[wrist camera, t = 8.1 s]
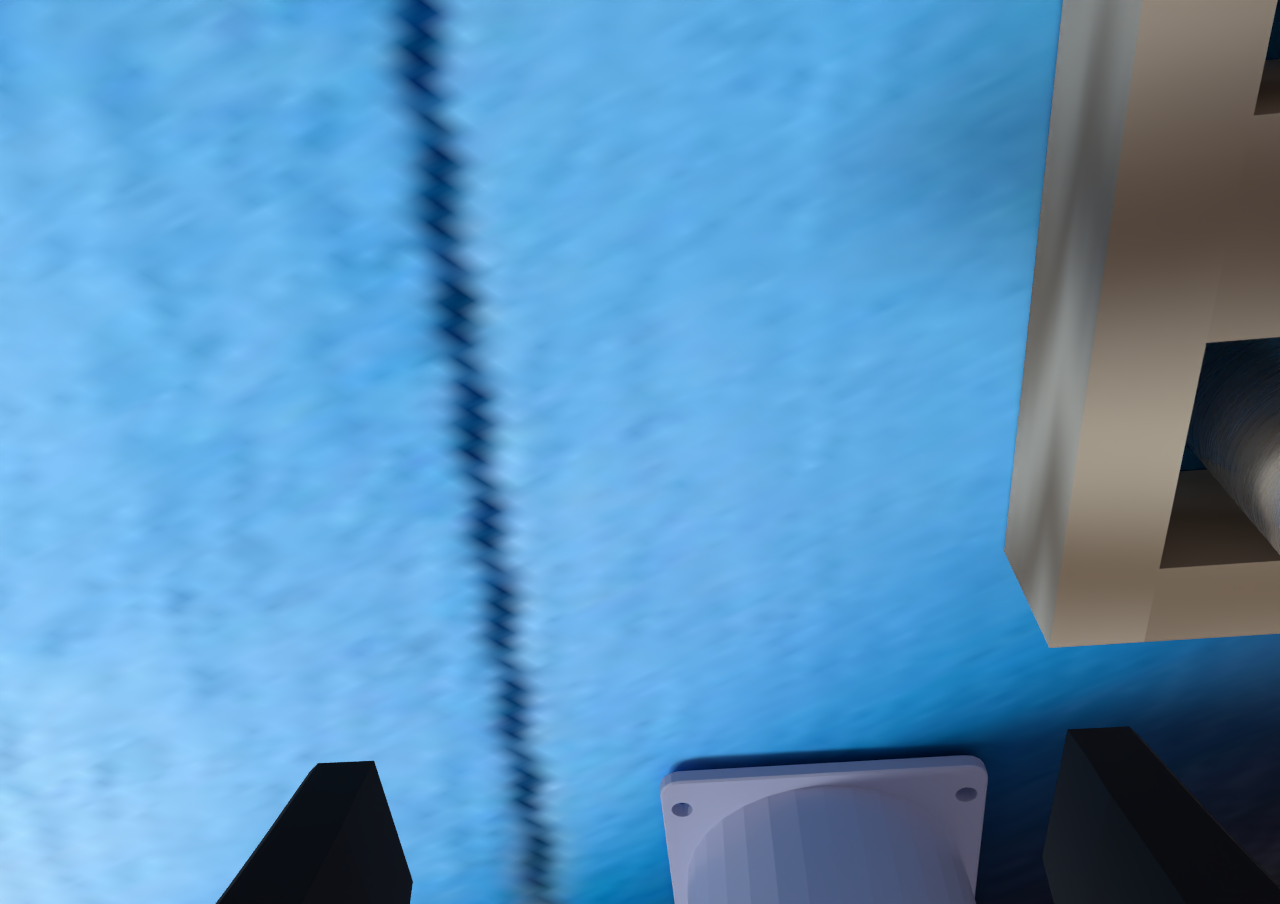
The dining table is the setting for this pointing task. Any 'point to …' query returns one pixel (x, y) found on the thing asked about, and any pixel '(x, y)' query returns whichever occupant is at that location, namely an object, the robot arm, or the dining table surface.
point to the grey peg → (1242, 426)
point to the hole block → (1146, 322)
